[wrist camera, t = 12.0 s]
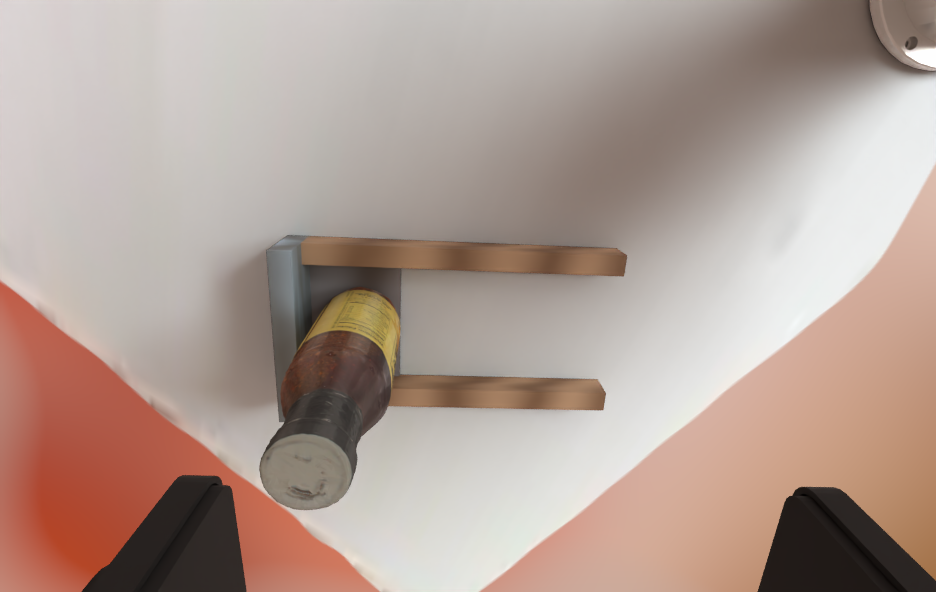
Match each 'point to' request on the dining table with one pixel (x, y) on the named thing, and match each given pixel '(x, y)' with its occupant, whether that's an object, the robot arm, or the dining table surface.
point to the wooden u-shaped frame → (379, 268)
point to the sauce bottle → (332, 399)
